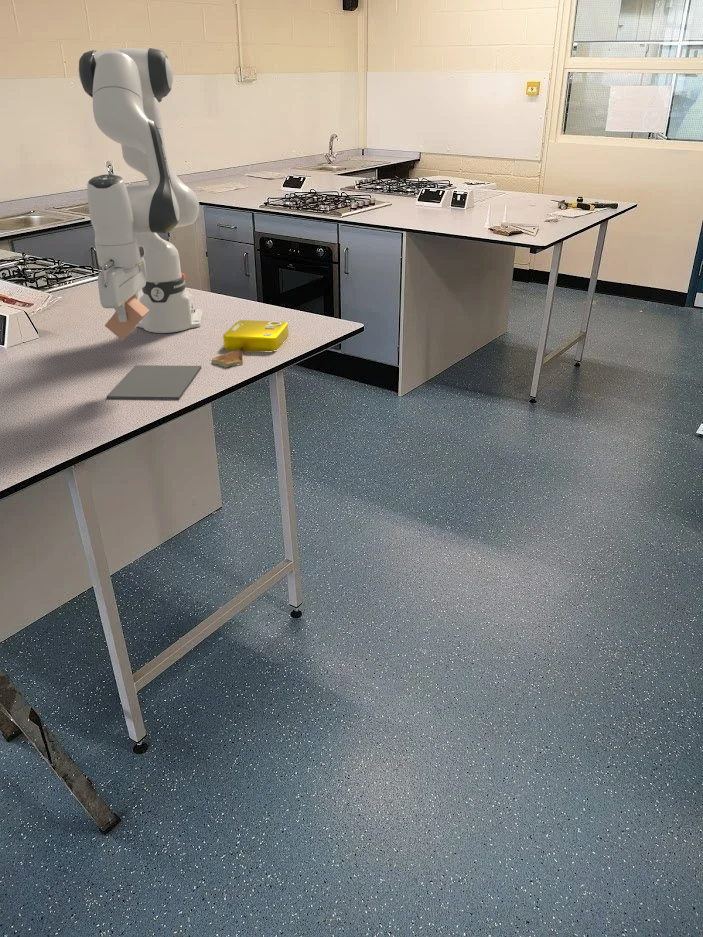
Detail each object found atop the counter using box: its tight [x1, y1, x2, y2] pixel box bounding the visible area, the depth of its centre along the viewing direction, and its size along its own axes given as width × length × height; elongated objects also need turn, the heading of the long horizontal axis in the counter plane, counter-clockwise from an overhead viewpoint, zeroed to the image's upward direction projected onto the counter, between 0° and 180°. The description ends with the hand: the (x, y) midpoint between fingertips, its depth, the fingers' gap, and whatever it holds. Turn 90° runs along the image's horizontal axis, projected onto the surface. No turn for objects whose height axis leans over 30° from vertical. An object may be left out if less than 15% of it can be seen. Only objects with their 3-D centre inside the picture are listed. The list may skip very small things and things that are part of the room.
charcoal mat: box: [106, 364, 202, 400], centre depth 174 cm, size 20×17×1 cm
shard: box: [211, 348, 244, 368], centre depth 187 cm, size 11×8×2 cm
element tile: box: [222, 319, 290, 352], centre depth 198 cm, size 15×15×5 cm
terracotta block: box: [104, 296, 149, 341], centre depth 166 cm, size 5×5×8 cm
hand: (128, 316), depth 166 cm, fingers closed on terracotta block, 5 cm apart
